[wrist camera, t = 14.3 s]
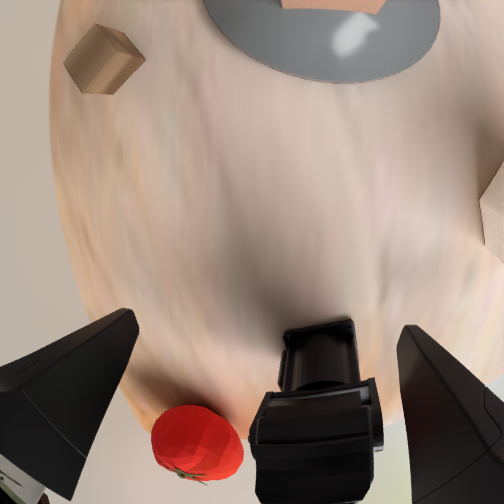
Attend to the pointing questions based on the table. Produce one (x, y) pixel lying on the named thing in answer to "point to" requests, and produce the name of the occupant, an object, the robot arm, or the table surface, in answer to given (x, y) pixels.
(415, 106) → the table surface
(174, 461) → the tomato
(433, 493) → the robot arm
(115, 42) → the block
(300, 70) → the plate
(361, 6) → the tan rectangular block
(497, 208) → the jar
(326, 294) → the table surface
